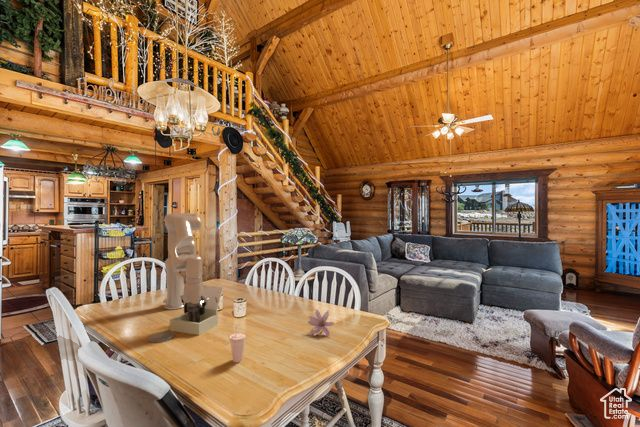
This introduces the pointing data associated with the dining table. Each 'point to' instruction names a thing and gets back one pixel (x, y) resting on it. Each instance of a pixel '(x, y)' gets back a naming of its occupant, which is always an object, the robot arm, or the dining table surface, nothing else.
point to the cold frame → (206, 319)
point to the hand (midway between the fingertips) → (194, 313)
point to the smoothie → (237, 346)
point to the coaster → (161, 337)
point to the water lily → (320, 323)
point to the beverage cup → (193, 312)
